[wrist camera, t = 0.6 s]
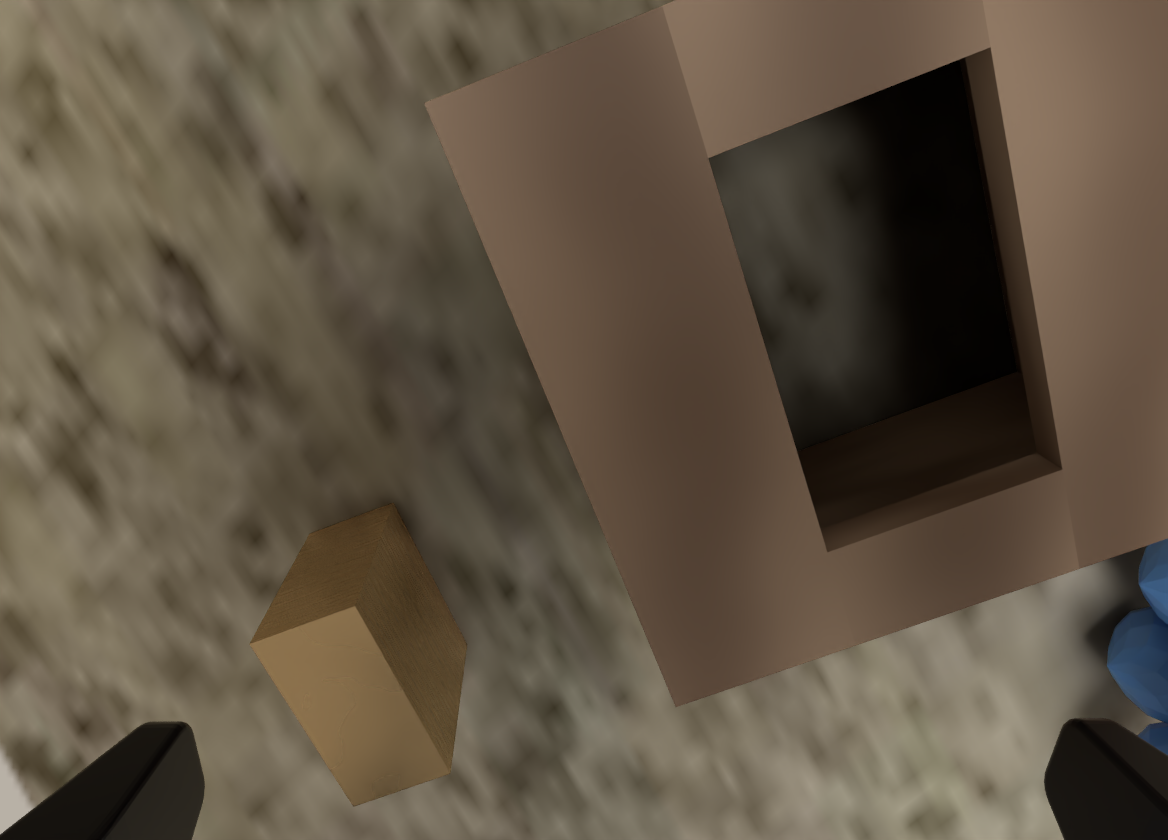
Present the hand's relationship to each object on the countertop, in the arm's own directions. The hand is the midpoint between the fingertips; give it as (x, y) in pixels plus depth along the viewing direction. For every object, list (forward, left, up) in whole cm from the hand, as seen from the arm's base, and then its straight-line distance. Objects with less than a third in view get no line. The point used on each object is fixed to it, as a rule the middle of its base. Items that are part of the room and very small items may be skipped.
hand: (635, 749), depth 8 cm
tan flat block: (-7, -4, -14) cm, 16 cm away
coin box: (+6, +1, -13) cm, 15 cm away
